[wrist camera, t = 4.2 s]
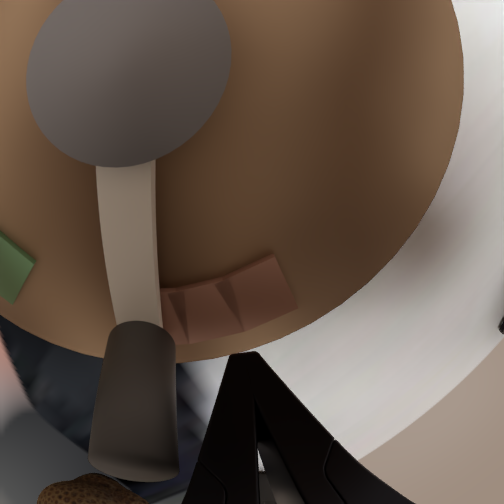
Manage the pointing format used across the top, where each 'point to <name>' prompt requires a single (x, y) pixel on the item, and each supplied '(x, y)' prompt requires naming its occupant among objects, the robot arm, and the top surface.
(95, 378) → the top surface
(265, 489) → the supplement bottle
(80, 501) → the natural sponge
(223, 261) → the round wooden board
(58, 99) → the multicoloured piece
